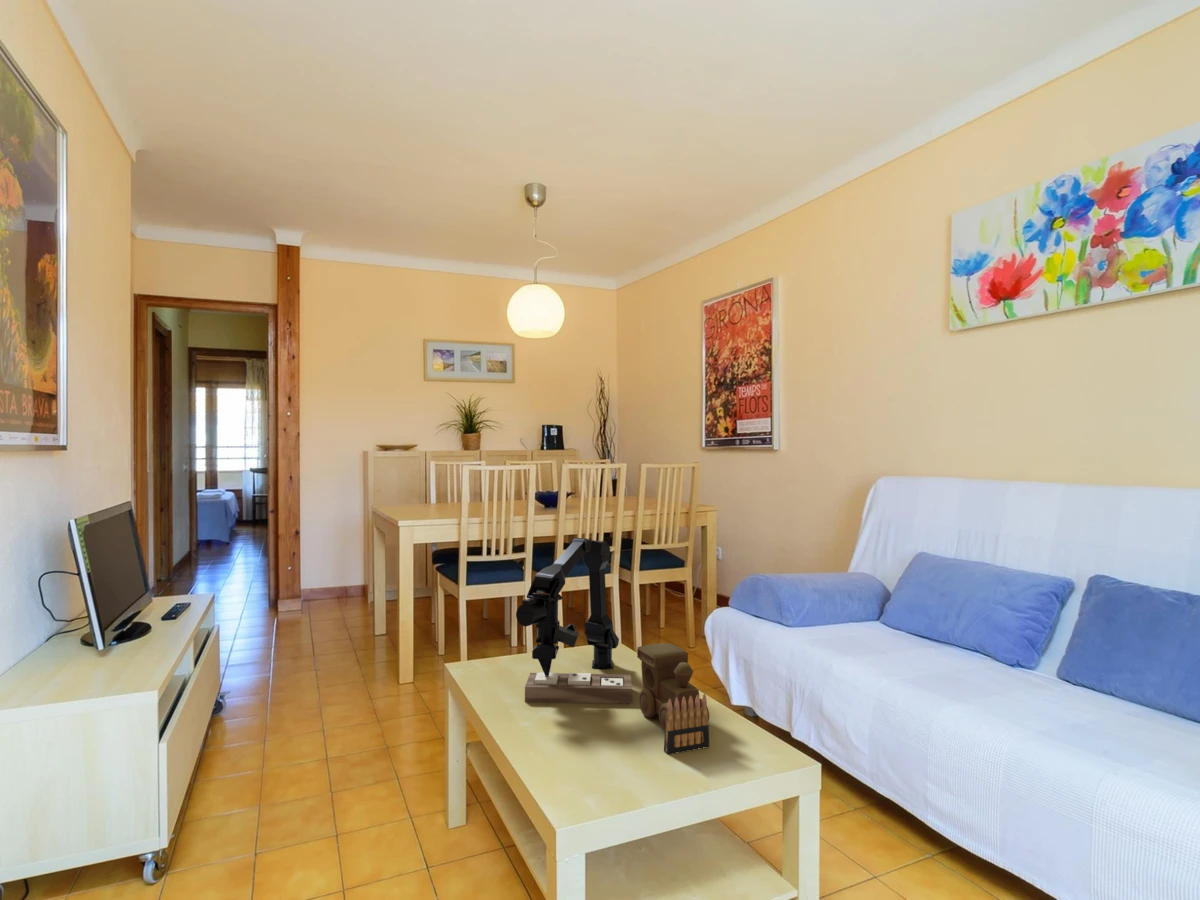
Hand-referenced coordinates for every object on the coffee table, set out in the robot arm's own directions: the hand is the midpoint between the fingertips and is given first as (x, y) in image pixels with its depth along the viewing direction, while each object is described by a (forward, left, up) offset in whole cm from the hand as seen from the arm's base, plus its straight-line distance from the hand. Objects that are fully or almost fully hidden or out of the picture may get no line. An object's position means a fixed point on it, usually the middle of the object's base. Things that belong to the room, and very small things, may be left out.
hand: (547, 674), depth 177 cm
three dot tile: (0, +18, -4) cm, 18 cm away
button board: (0, +9, -5) cm, 10 cm away
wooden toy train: (+16, +33, -6) cm, 37 cm away
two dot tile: (0, +9, -3) cm, 9 cm away
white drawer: (0, 0, -3) cm, 3 cm away
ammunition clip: (+31, +35, -6) cm, 47 cm away
